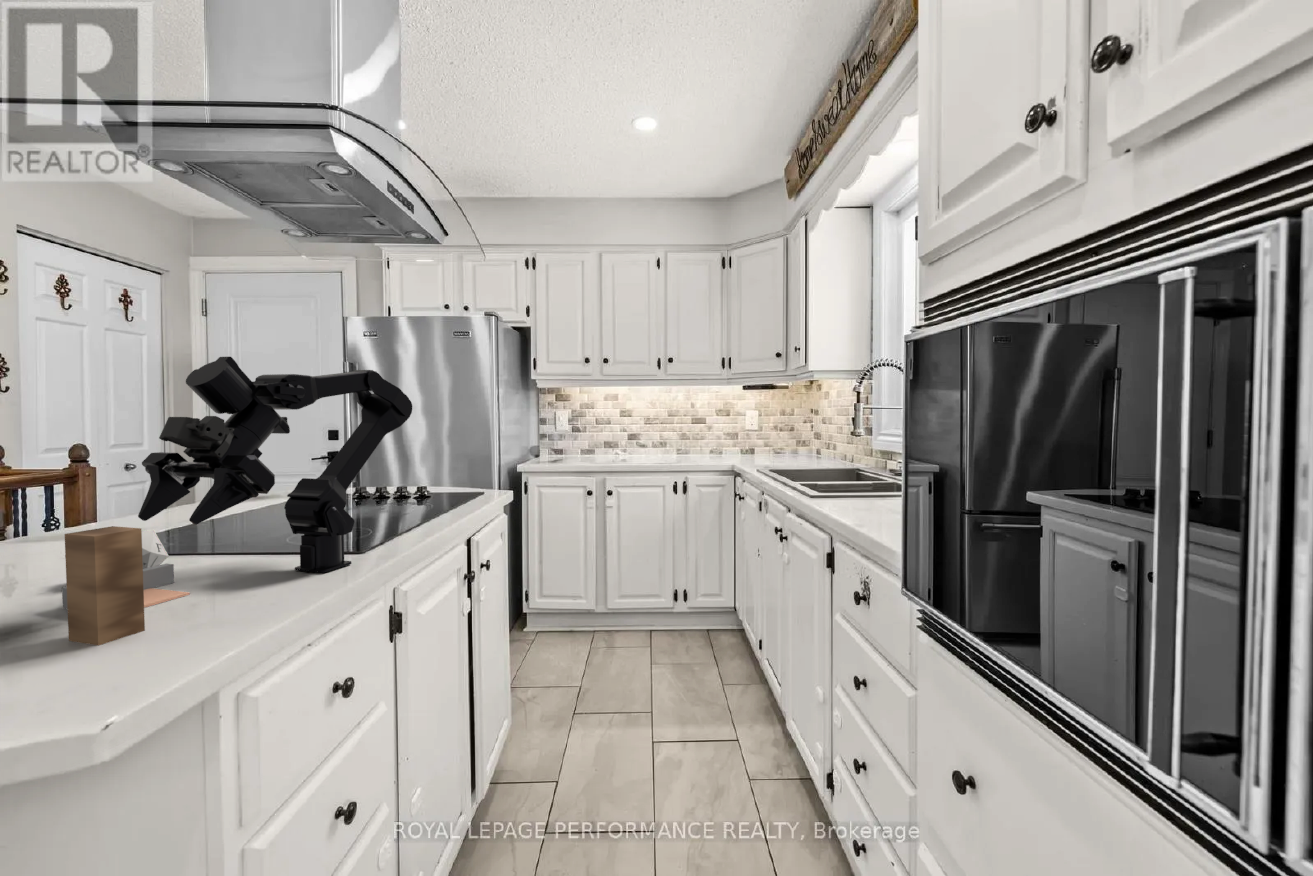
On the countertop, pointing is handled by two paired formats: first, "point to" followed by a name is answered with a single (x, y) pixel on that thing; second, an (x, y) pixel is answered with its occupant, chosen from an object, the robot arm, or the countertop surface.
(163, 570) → the corner bracket
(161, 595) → the pad
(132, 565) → the walnut block
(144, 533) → the die
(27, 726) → the countertop surface
